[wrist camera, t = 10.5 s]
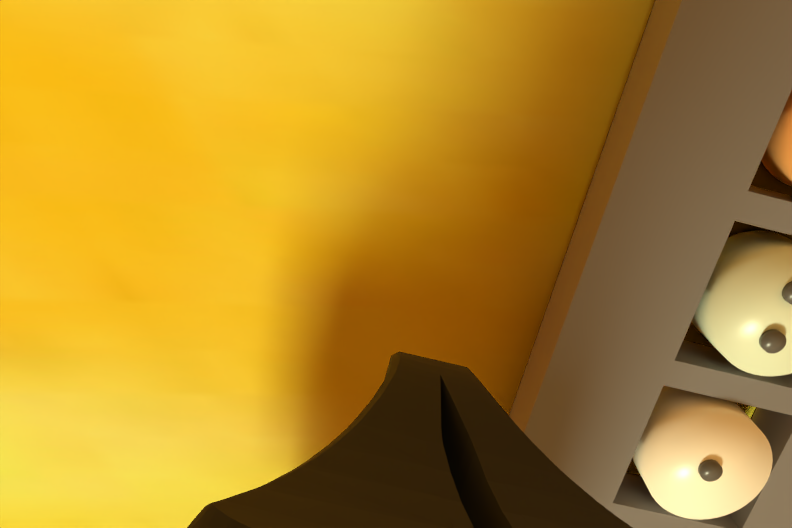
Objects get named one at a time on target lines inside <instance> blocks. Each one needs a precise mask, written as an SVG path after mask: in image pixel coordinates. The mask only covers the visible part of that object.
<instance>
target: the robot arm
mask: <svg viewBox="0 0 792 528" xmlns="http://www.w3.org/2000/svg"><path fill="white" fill-rule="evenodd" d="M187 528H633V527H631V526H630V525H628V524H627V523H625V522H624V521H623V520H621V519H620V518H618V517H617V516H616V515H614V514H613V513H612V512H610V511H609V510H608V509H606V508H605V507H604V506H602V505H601V504H600V503H599V502H597V501H596V500H595V499H594V498H593V497H591V496H590V495H589V494H588V493H587V492H585V491H584V490H583V489H582V488H581V487H579V486H578V485H577V484H576V483H575V482H574V481H572V480H571V479H570V478H569V477H568V476H567V475H566V474H564V473H563V472H562V471H561V470H560V469H559V468H558V467H557V466H556V465H555V464H554V463H553V462H552V461H551V460H550V459H549V458H548V457H547V456H546V455H545V454H544V453H543V452H542V451H541V450H540V449H539V448H538V447H537V446H536V445H535V444H534V443H533V442H532V441H531V440H530V439H529V438H528V437H527V436H526V435H525V434H524V432H523V431H522V430H521V429H520V428H519V427H518V426H517V425H516V424H515V422H514V421H513V420H512V419H511V418H510V417H509V416H508V414H507V413H506V412H505V411H504V410H503V409H502V407H501V406H500V405H499V404H498V403H497V401H496V400H495V399H494V398H493V397H492V395H491V394H490V393H489V392H488V391H487V389H486V388H485V387H484V386H483V385H482V383H481V382H480V381H479V380H478V379H477V378H476V376H475V375H474V374H473V373H472V372H471V371H470V370H469V369H468V368H467V367H463V366H459V365H455V364H450V363H446V362H442V361H437V360H433V359H429V358H424V357H420V356H416V355H411V354H407V353H403V352H398V353H396V354H394V355H392V356H391V359H390V362H389V366H388V370H387V373H386V377H385V380H384V382H383V383H382V385H381V387H380V388H379V390H378V391H377V393H376V394H375V396H374V397H373V399H372V400H371V401H370V403H369V404H368V405H367V406H366V407H365V409H364V410H363V411H362V412H361V413H360V415H359V416H358V417H357V418H356V419H355V420H354V421H353V423H352V424H351V425H350V426H349V427H348V428H347V429H346V430H345V431H344V432H343V433H341V434H340V435H339V436H338V437H337V438H336V439H335V440H334V441H332V442H331V443H330V444H329V445H328V446H327V447H325V448H324V449H323V450H321V451H320V452H318V453H317V454H316V455H314V456H313V457H312V458H310V459H309V460H308V461H306V462H305V463H303V464H302V465H300V466H299V467H297V468H295V469H294V470H292V471H290V472H288V473H286V474H284V475H282V476H281V477H279V478H277V479H275V480H273V481H271V482H269V483H267V484H266V485H263V486H261V487H258V488H256V489H253V490H250V491H247V492H244V493H241V494H238V495H235V496H232V497H229V498H226V499H224V500H220V501H217V502H213V503H210V504H209V505H207V506H205V507H204V508H203V510H202V511H201V512H200V513H199V514H198V515H197V516H196V518H195V519H194V520H193V521H192V523H191V524H190V525H189V526H188V527H187Z"/></svg>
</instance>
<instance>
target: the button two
mask: <svg viewBox="0 0 792 528" xmlns="http://www.w3.org/2000/svg"><path fill="white" fill-rule="evenodd" d="M692 323H693V325H694V326H695V327H696V328H697V330H698V331H699V332H700V333H701V334H702V335H703V336H704V337H705V338H706V339H707V340H708V341H709V342H710V343H711V344H712V345H713V346H714V347H715V348H716V349H717V350H718V351H719V352H720V353H721V354H722V355H723V356H724V357H725V358H726V359H727V360H728V361H729V362H730V363H731V364H733V365H734V366H736V367H737V368H739V369H741V370H743V371H745V372H747V373H751V374H754V375H760V376H781V375H787V374H791V373H792V240H790V239H788V238H786V237H784V236H782V235H780V234H777V233H774V232H768V231H748V232H743V233H739V234H736V235H733V236H730V237H728V238H727V240H726V243H725V245H724V247H723V250H722V252H721V254H720V257H719V259H718V261H717V264H716V266H715V268H714V270H713V273H712V275H711V277H710V280H709V282H708V284H707V287H706V289H705V291H704V294H703V296H702V298H701V300H700V303H699V305H698V307H697V310H696V312H695V314H694V317H693V319H692Z"/></svg>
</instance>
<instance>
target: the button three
mask: <svg viewBox="0 0 792 528" xmlns="http://www.w3.org/2000/svg"><path fill="white" fill-rule="evenodd" d="M761 161H762V163H763V165H764V166H765V167H766V169H767V170H768V171H769V172H770V173H771V174H772V175H773V176H774V177H775V178H777V179H778V180H779V181H781V182H783V183H785V184H787V185H789V186H792V91H791V93H790V95H789V97H788V100H787V102H786V104H785V107H784V109H783V111H782V114H781V116H780V118H779V121H778V123H777V125H776V127H775V130H774V132H773V134H772V137H771V139H770V141H769V144H768V146H767V148H766V151H765V153H764V155H763V157H762V160H761Z"/></svg>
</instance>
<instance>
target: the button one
mask: <svg viewBox="0 0 792 528" xmlns="http://www.w3.org/2000/svg"><path fill="white" fill-rule="evenodd" d="M632 460H633V462H634V463H635V465H636V467H637V469H638V471H639V473H640V475H641V477H642V478H643V480H644V482H645V484H646V486H647V488H648V490H649V492H650V493H651V495H652V497H653V498H654V500H655V501H656V502H657V503H658V504H659V505H660V506H661V507H662V508H664V509H665V510H667V511H668V512H670V513H672V514H674V515H677V516H680V517H683V518H688V519H699V520H702V519H712V518H718V517H721V516H725V515H728V514H730V513H733V512H735V511H737V510H739V509H740V508H742V507H744V506H745V505H747V504H748V503H749V502H750V501H752V500H753V499H754V498H755V497H756V496H757V495H758V494H759V493H760V491H761V490H762V489H763V487H764V486H765V484H766V482H767V480H768V478H769V476H770V473H771V469H772V462H773V458H772V450H771V446H770V444H769V441H768V440H767V438H766V436H765V435H764V434H763V433H762V431H761V430H760V429H759V428H758V427H757V426H756V425H755V423H754V422H753V421H752V420H751V419H750V418H749V417H748V416H747V415H746V413H745V412H744V411H743V410H742V409H741V408H740V407H739V406H738V404H737V403H736V402H732V401H728V400H724V399H720V398H715V397H711V396H707V395H702V394H698V393H694V392H690V391H685V390H681V389H677V388H673V387H668V386H664V387H663V388H662V390H661V393H660V395H659V397H658V400H657V402H656V404H655V406H654V409H653V411H652V413H651V416H650V418H649V420H648V423H647V425H646V427H645V430H644V432H643V434H642V436H641V439H640V441H639V443H638V446H637V448H636V450H635V453H634V455H633V457H632Z"/></svg>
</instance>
